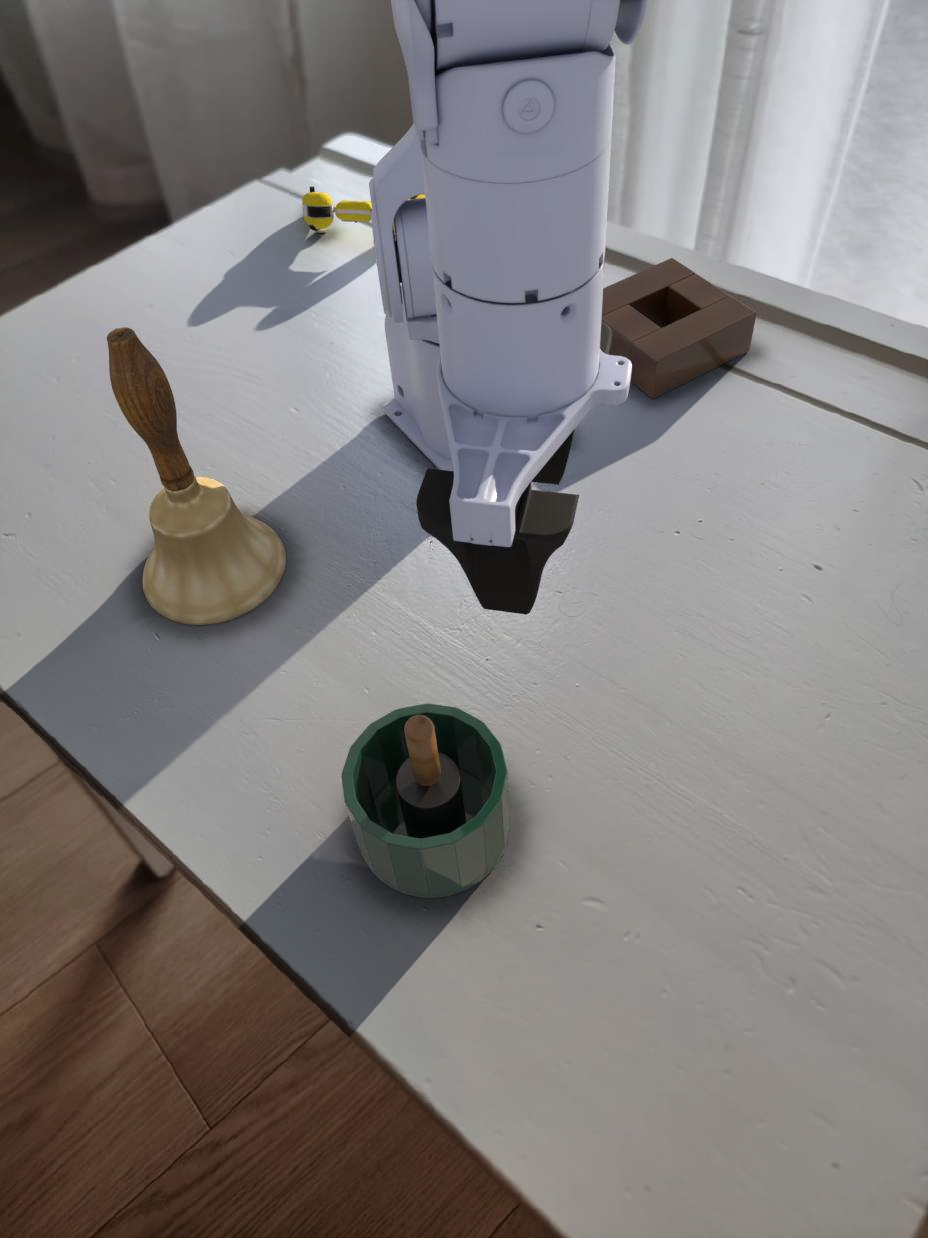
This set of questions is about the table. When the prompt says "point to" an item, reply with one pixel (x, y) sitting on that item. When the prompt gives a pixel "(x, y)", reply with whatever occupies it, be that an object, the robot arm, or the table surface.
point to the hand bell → (190, 509)
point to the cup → (378, 812)
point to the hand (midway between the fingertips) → (523, 538)
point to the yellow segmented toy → (334, 210)
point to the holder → (674, 326)
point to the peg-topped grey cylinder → (428, 784)
